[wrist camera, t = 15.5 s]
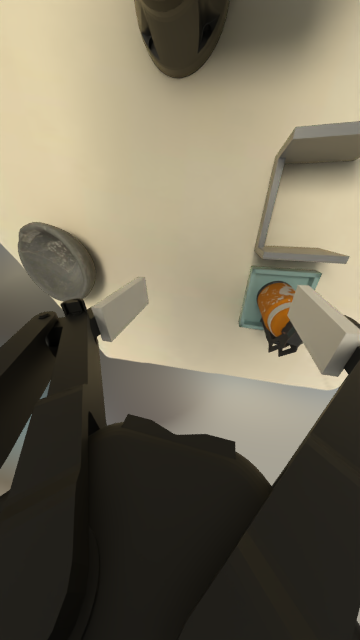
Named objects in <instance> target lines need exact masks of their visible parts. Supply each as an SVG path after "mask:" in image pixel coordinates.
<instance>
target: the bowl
mask: <svg viewBox="0 0 360 640" xmlns="http://www.w3.org/2000/svg"><path fill="white" fill-rule="evenodd" d="M18 252H19V256H20V259H21V262H22V264H23V266H24V268H25V270H26V272H27V273H28V275H29V276H30V278H31V279H32V280H33V281H34V283H35V284H36V285H37V286H38V287H39V288H41V290H43V291H44V292H45V293H47V294H48V295H50V296H51V297H53V298H55V299H57V300H60V301H67V300H70V299H76V298H81V299H83V298H84V297H86V296H87V295H88V294H89V292H90V291H91V289H92V287H93V285H94V282H95V266H94V263H93V260H92V258H91V256H90V254H89V253H88V251H87V250H86V249H85V247H84V246H83V245H82V244H81V243H80V242H79V241H78V240H77V239H76V238H75V237H73V236H72V235H71V234H70V233H68V232H66V231H64V230H62V229H60V228H57V227H55V226H52V225H48V224H45V223H40V222H32V223H29V224H27V225H25V226H23V227H22V228H21V229H20V232H19V242H18Z"/></svg>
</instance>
